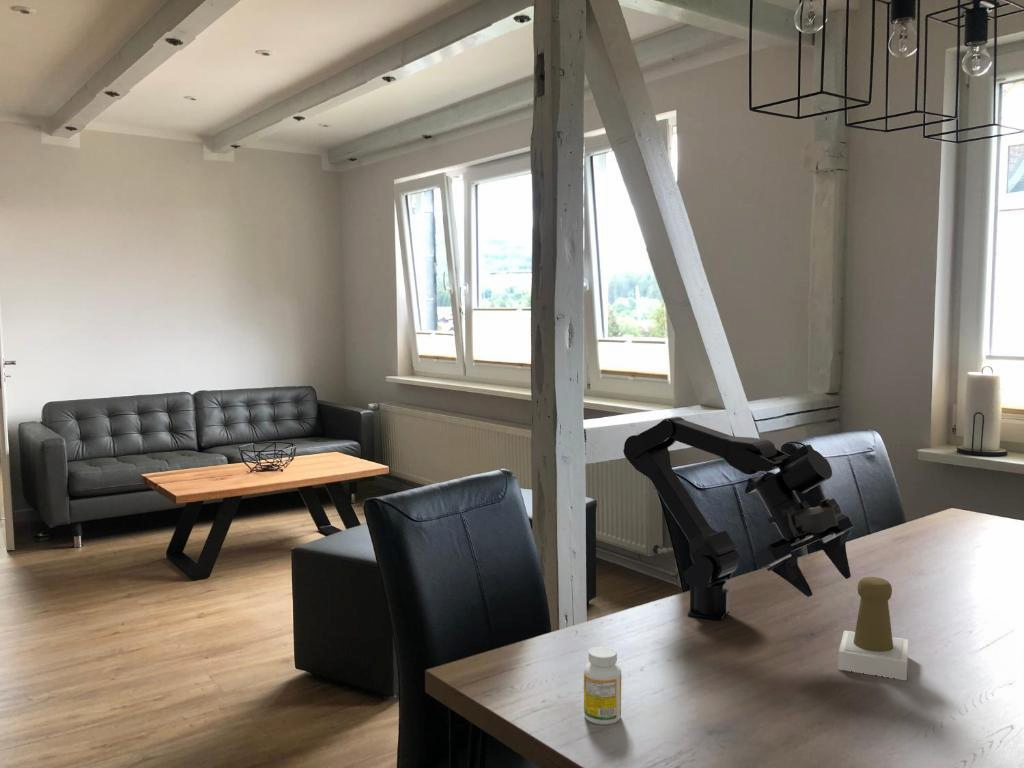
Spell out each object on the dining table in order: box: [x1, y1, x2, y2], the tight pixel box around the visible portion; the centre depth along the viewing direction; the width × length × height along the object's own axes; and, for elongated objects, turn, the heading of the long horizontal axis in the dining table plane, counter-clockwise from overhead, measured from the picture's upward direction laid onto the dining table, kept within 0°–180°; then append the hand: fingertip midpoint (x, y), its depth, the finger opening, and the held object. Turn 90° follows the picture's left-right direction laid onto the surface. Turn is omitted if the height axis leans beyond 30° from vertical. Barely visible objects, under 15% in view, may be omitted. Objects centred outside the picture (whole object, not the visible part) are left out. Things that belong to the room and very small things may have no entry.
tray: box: [837, 630, 909, 681], centre depth 139 cm, size 10×10×3 cm
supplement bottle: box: [583, 646, 622, 726], centre depth 122 cm, size 5×5×10 cm
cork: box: [853, 576, 893, 652], centre depth 139 cm, size 6×6×11 cm
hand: (829, 587), depth 145 cm, fingers open, 9 cm apart
